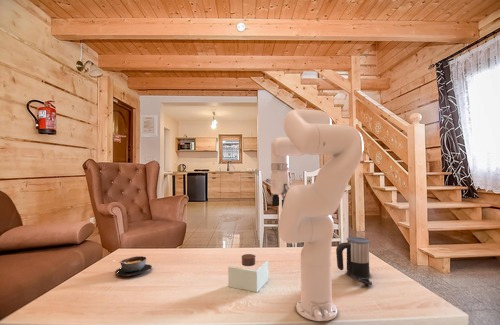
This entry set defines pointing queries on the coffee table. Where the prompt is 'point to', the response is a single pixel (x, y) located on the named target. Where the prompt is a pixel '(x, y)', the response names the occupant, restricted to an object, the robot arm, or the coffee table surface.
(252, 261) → the brown cylinder
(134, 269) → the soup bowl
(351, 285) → the coffee table surface
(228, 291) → the coffee table surface
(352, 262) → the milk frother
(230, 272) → the right angle wall
